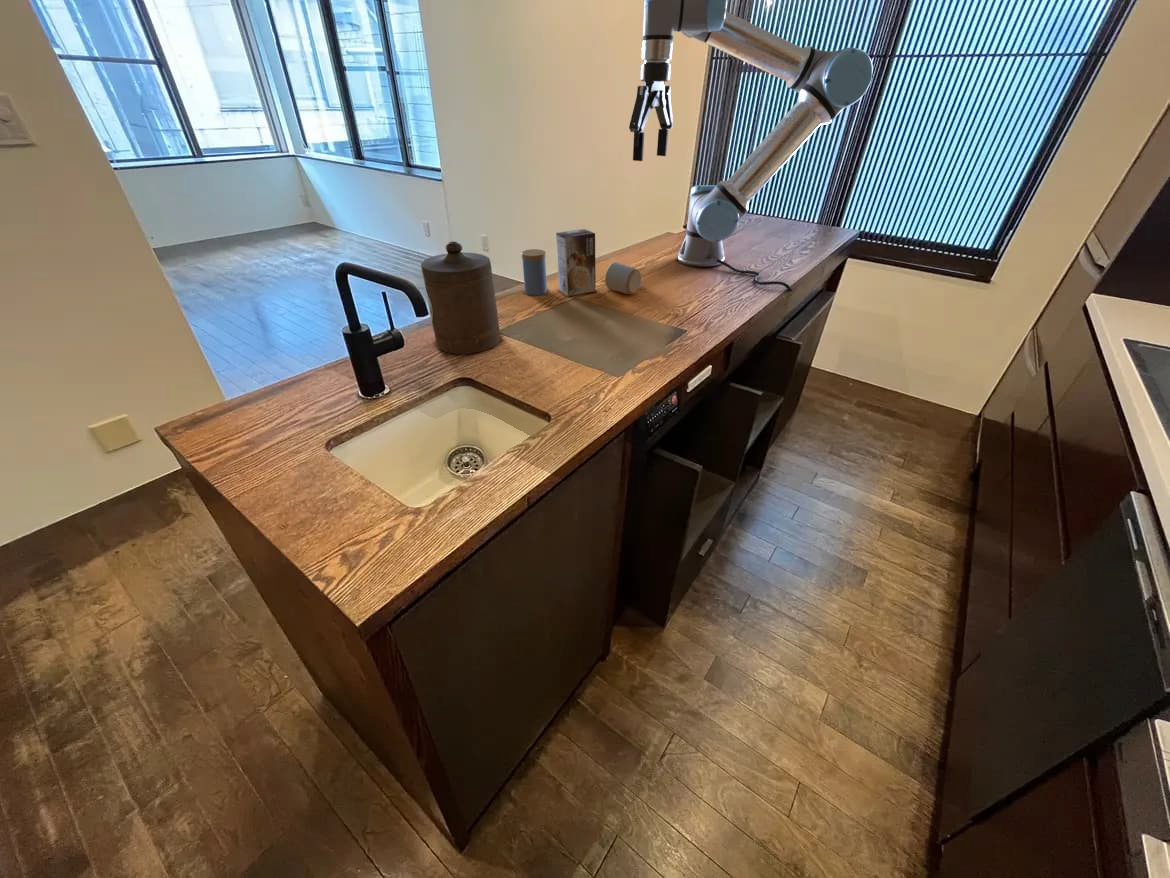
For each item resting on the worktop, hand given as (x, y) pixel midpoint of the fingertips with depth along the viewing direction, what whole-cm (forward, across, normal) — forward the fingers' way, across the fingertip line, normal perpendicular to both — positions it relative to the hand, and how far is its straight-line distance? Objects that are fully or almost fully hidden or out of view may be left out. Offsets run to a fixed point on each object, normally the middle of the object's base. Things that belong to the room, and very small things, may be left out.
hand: (650, 158), depth 135 cm
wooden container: (+32, +68, -8) cm, 76 cm away
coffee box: (+32, +26, -7) cm, 42 cm away
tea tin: (+32, +33, -17) cm, 49 cm away
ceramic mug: (+32, +18, +4) cm, 37 cm away
